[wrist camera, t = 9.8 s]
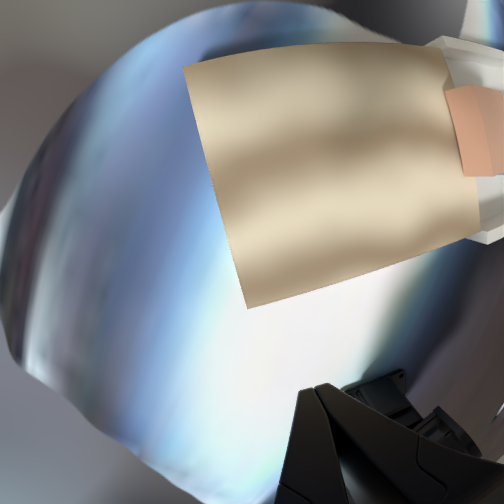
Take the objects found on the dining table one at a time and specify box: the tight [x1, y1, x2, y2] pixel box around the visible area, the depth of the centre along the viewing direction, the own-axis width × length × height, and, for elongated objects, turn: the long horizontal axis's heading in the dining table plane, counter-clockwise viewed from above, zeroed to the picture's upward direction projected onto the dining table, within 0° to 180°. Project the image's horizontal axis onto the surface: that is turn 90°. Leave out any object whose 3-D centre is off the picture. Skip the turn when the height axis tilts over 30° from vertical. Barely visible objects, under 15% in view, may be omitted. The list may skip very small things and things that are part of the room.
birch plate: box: [183, 42, 481, 309], centre depth 16 cm, size 14×18×2 cm
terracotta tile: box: [444, 84, 504, 177], centre depth 15 cm, size 6×6×2 cm
